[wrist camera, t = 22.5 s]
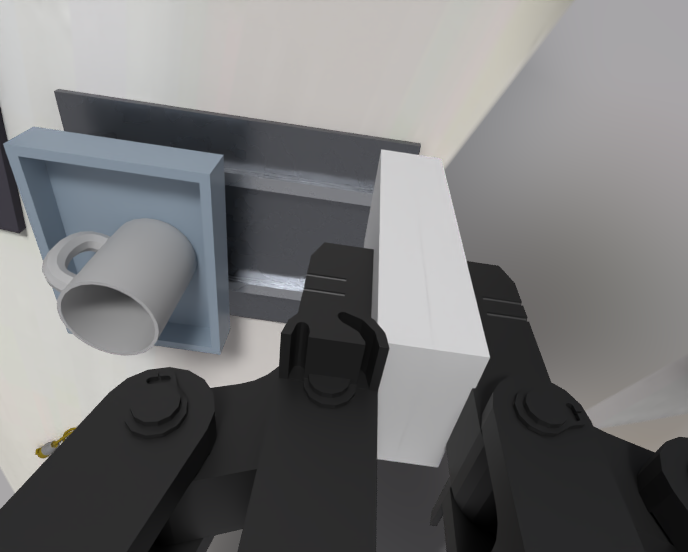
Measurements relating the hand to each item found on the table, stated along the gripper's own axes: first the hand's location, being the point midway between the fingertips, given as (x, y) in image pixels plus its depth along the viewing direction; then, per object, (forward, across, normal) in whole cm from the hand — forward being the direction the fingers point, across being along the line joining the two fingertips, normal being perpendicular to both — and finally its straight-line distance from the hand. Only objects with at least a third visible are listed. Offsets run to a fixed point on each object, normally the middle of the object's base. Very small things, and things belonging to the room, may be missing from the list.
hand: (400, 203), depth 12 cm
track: (+26, +11, +19) cm, 34 cm away
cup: (+21, +18, +18) cm, 34 cm away
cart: (+25, +19, +19) cm, 36 cm away
